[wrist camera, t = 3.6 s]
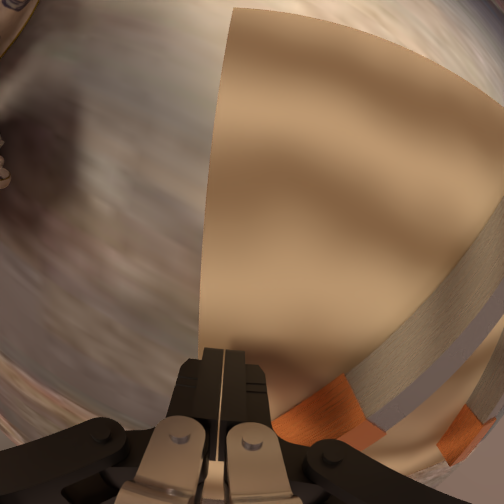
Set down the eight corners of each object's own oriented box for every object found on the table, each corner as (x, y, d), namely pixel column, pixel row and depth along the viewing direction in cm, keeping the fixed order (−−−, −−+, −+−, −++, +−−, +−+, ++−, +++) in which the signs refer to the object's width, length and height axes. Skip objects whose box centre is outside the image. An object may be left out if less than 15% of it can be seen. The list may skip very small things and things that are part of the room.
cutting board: (234, 25, 9) (233, 7, 7) (542, 155, 10) (554, 156, 9) (204, 484, 16) (202, 498, 14) (438, 451, 17) (444, 460, 16)
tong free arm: (528, 139, 8) (564, 140, 5) (545, 194, 9) (577, 200, 6) (259, 427, 11) (263, 478, 8) (308, 452, 12) (318, 495, 9)
